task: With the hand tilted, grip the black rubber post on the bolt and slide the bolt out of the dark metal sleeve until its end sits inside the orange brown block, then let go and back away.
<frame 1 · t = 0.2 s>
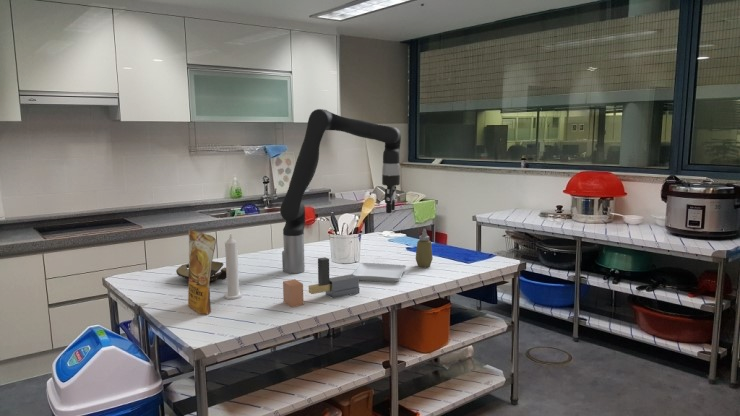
hand: (390, 211, 228), 29 cm above the table, tool pointing down, fingers open, 8 cm apart
candle: (233, 297, 206), on the table
broken bowl: (206, 281, 229), on the table
pancake mix bag: (201, 308, 193), on the table
squeeze bottle: (424, 266, 251), on the table
salad plate: (379, 277, 234), on the table
sleeve: (333, 295, 207), on the table
orange brown block: (293, 292, 198), on the table
bolt: (333, 273, 206), point 9 cm above the table, slide at 0.0 cm
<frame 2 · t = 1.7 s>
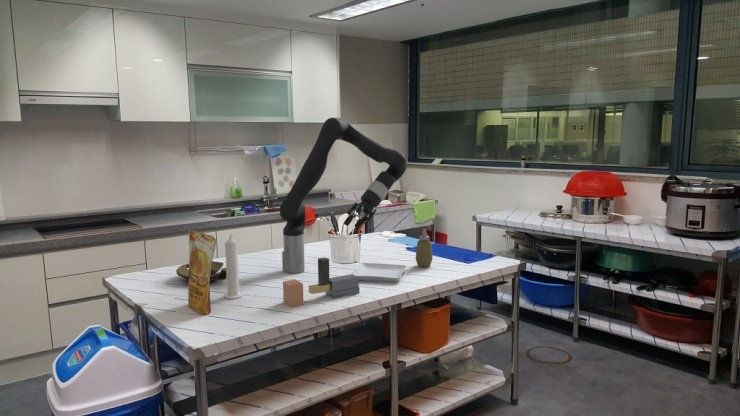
hand: (350, 226, 208), 27 cm above the table, tool tilted 45°, fingers open, 8 cm apart
nothing on the table moved.
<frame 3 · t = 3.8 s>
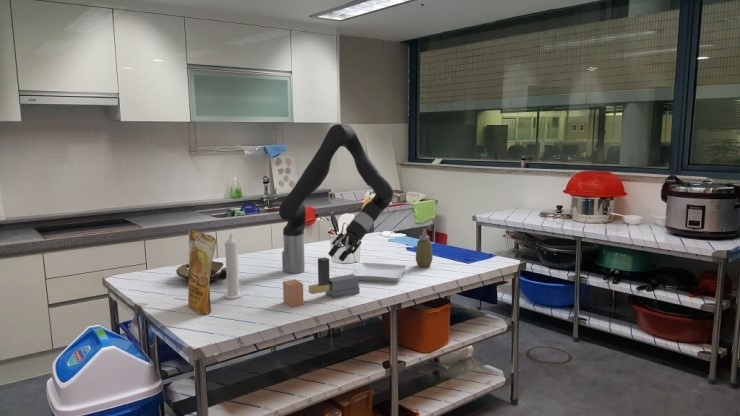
hand: (335, 257, 205), 15 cm above the table, tool tilted 45°, fingers open, 8 cm apart
nothing on the table moved.
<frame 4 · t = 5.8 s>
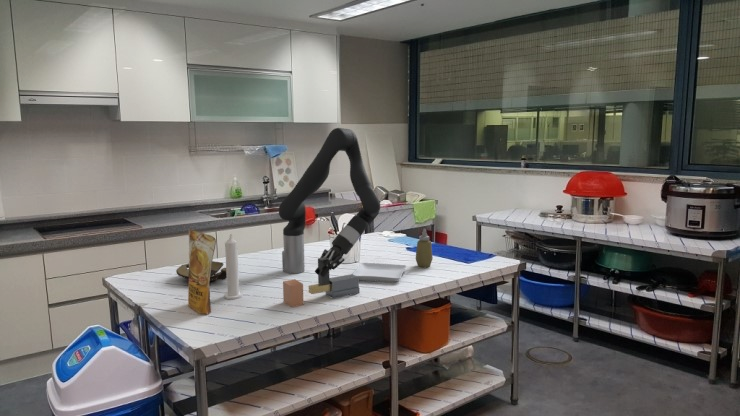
hand: (319, 274, 202), 9 cm above the table, tool tilted 45°, fingers closed on bolt, 3 cm apart
bolt: (333, 273, 206), point 9 cm above the table, slide at 0.0 cm, touching gripper
everything else where it was.
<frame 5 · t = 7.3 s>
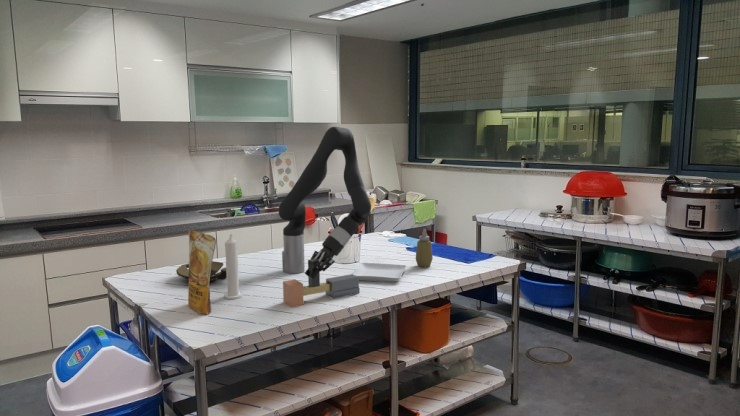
hand: (309, 276, 200), 9 cm above the table, tool tilted 45°, fingers closed on bolt, 3 cm apart
bolt: (323, 274, 204), point 9 cm above the table, slide at 4.2 cm, touching gripper
everything else where it was.
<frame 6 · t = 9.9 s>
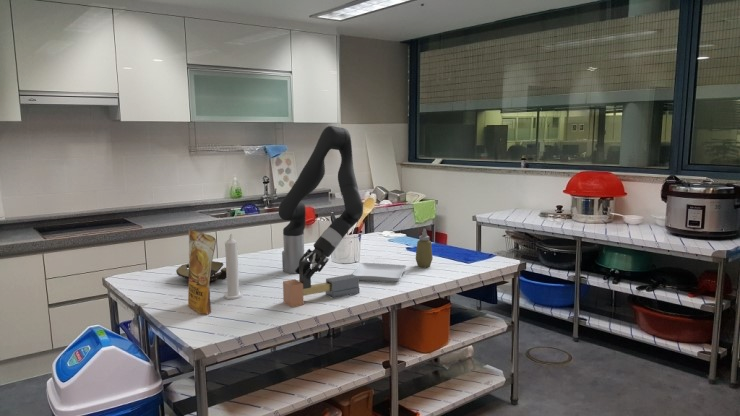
hand: (301, 275, 199), 10 cm above the table, tool tilted 45°, fingers open, 8 cm apart
bolt: (314, 276, 202), point 9 cm above the table, slide at 7.9 cm
everything else where it was.
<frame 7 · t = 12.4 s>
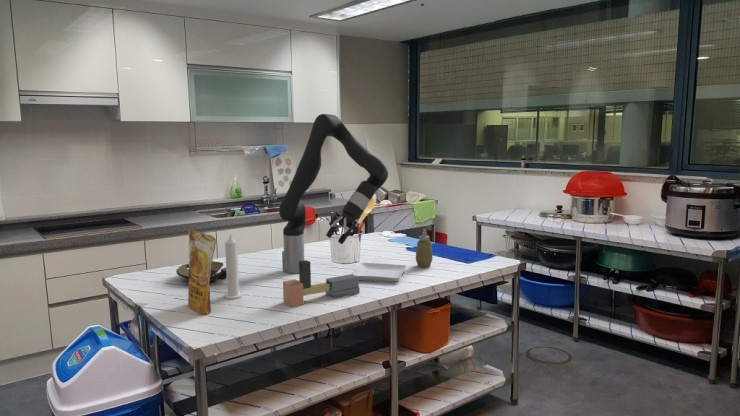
hand: (333, 239, 207), 22 cm above the table, tool tilted 40°, fingers open, 8 cm apart
nothing on the table moved.
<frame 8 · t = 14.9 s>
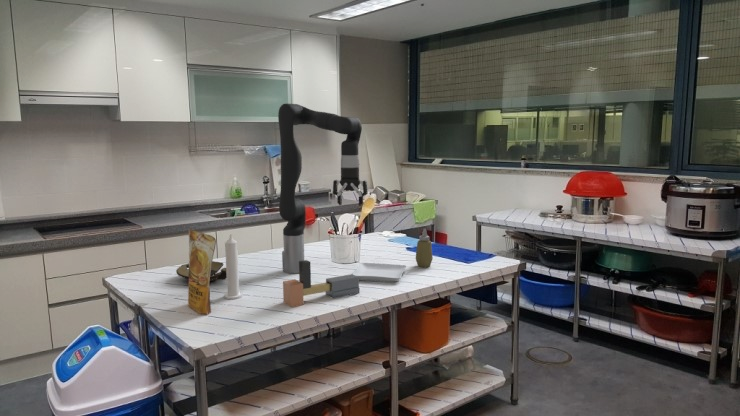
hand: (350, 205, 220), 33 cm above the table, tool pointing down, fingers open, 8 cm apart
nothing on the table moved.
at the end: bolt slide at 7.9 cm; the gripper is holding nothing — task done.
